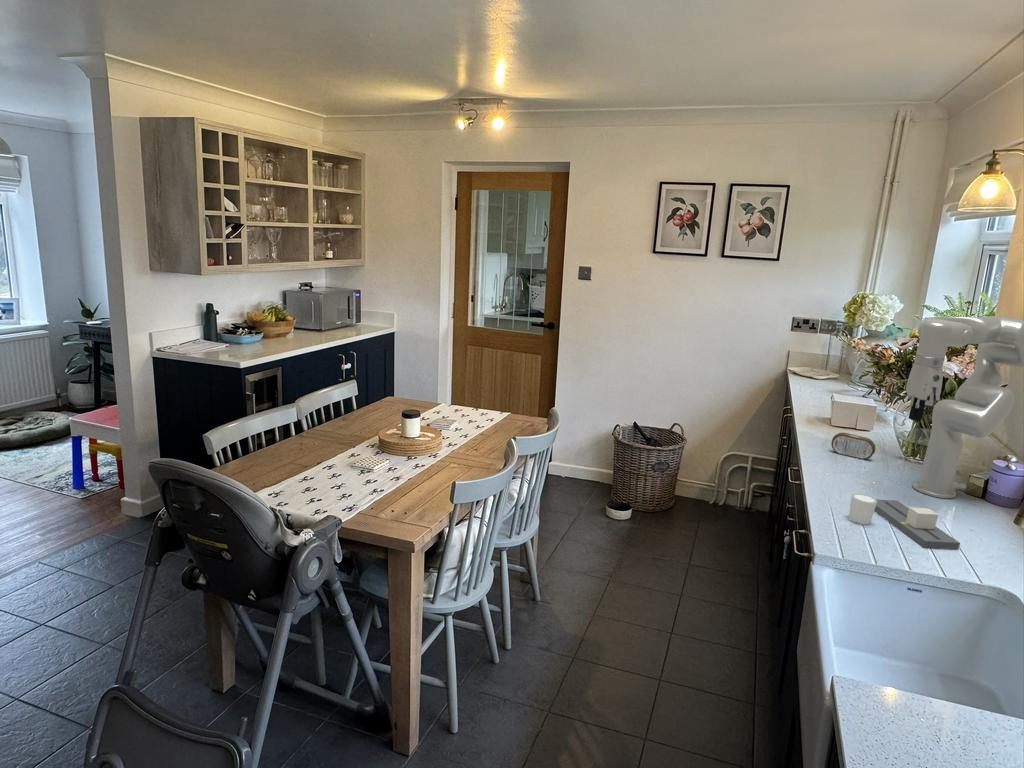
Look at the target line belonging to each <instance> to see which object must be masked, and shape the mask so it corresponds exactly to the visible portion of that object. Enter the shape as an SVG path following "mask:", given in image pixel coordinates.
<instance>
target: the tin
mask: <svg viewBox="0 0 1024 768" xmlns="http://www.w3.org/2000/svg"><path fill="white" fill-rule="evenodd" d="M830 443H831V448H832V450H833V451H834V452H835V453H836V454H838V455H842V456H845V457H846V456H847V457H849V458H853V459H857V458H858V460H862V459H863V461H864V460H869V459H870V458H872V457H873V455H874V454H875V452H876V444H875V443H874V441H873V440H872V439H870V438H868V437H865V436H861V435H856V434H851V433H848V432H838V433H836V434H835V435H834V436H833V437H832V440H831V442H830Z"/></svg>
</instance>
